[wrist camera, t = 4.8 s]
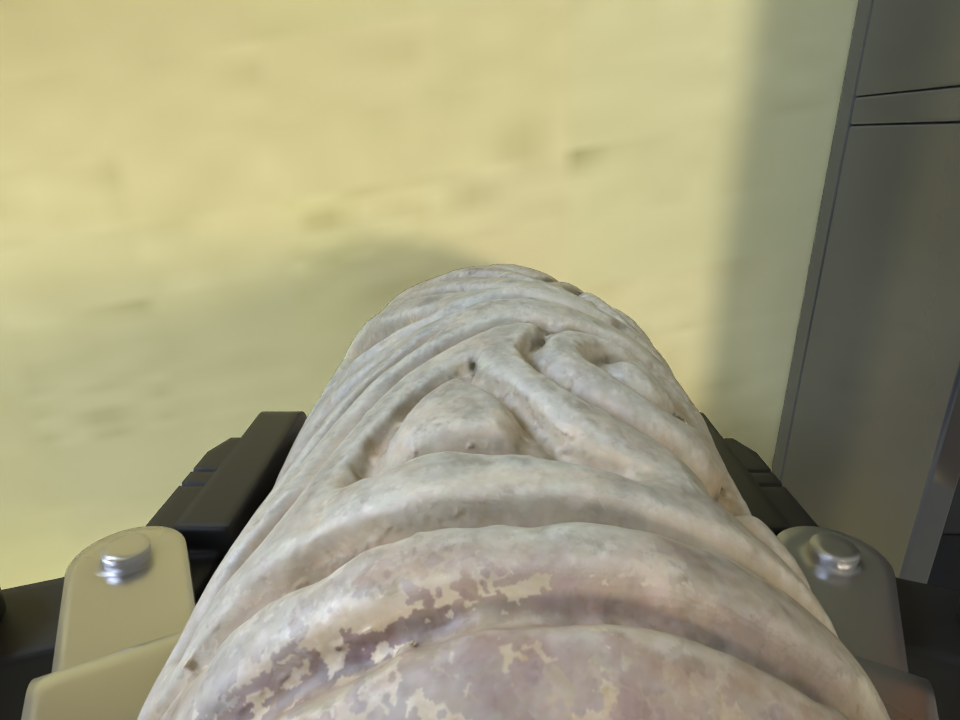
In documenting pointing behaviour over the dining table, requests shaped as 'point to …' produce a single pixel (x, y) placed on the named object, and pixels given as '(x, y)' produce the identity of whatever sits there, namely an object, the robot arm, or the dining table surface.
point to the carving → (507, 540)
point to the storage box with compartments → (886, 303)
